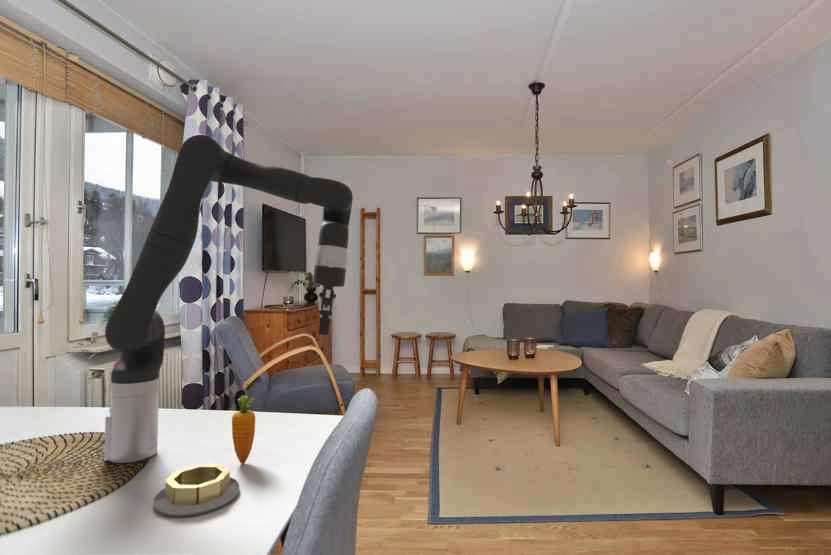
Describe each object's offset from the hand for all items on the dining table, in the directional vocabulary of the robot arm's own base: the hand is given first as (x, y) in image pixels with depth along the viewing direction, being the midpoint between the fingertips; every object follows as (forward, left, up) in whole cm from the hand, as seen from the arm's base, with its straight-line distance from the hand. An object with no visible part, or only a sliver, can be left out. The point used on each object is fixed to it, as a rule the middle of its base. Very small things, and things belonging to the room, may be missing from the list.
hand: (323, 333), depth 104 cm
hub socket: (-19, -22, -28) cm, 40 cm away
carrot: (-16, -7, -28) cm, 33 cm away
